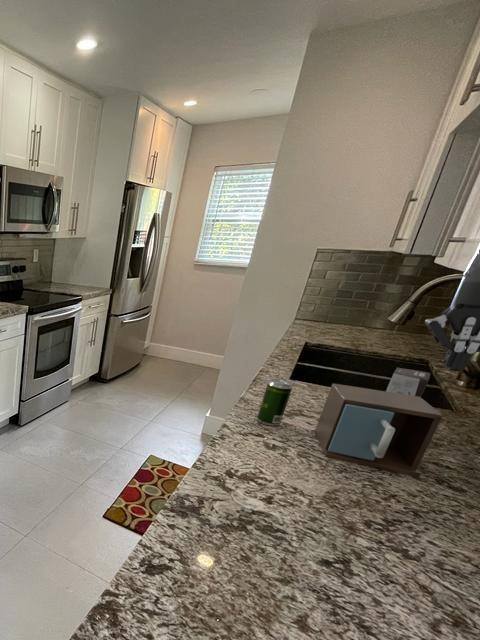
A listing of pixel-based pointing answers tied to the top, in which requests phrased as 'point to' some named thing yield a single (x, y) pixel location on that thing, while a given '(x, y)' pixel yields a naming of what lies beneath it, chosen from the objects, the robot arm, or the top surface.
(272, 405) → the beer can
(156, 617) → the top surface
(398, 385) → the coffee box
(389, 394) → the display cabinet
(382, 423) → the glass door
